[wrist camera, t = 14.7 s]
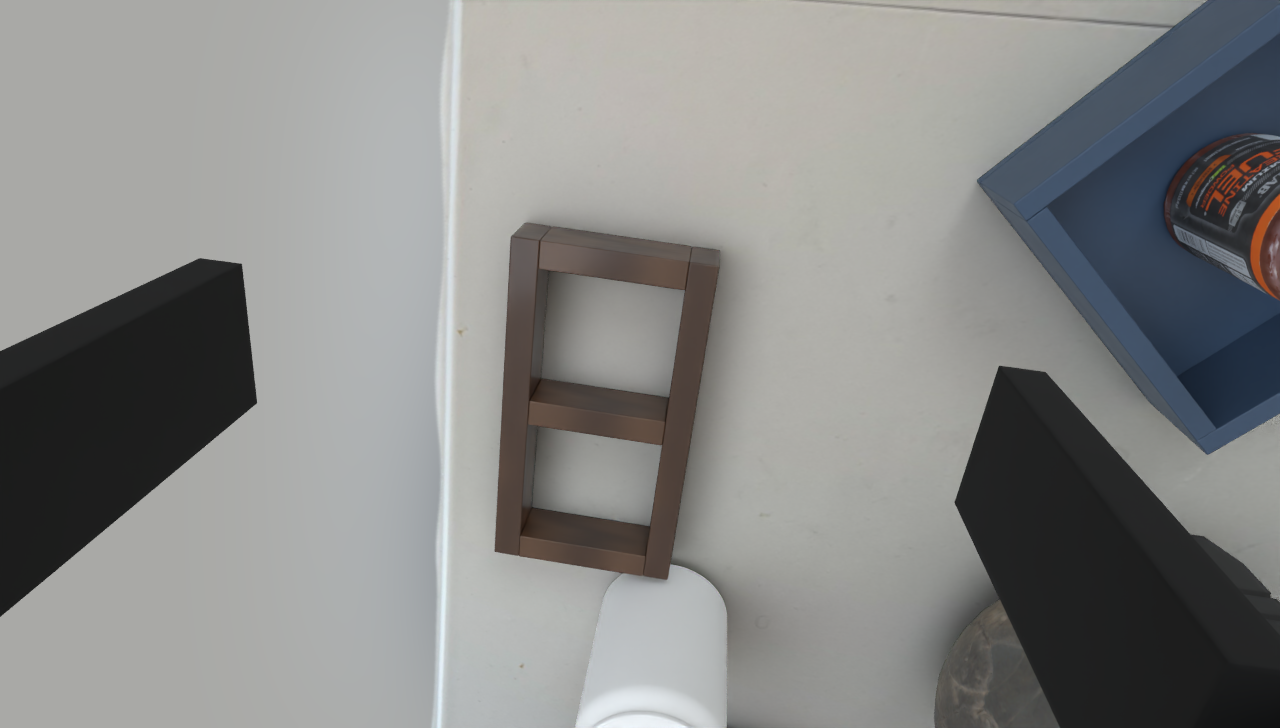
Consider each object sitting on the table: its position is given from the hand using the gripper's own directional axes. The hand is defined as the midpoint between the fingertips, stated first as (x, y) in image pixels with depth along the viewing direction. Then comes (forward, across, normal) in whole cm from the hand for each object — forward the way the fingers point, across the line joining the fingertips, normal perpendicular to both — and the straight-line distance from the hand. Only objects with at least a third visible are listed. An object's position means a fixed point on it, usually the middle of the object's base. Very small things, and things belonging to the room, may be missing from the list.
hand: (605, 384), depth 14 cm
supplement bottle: (+28, +26, +1) cm, 38 cm away
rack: (+28, -3, -15) cm, 32 cm away
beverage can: (+28, +3, -29) cm, 41 cm away
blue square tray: (+28, +26, +1) cm, 38 cm away
